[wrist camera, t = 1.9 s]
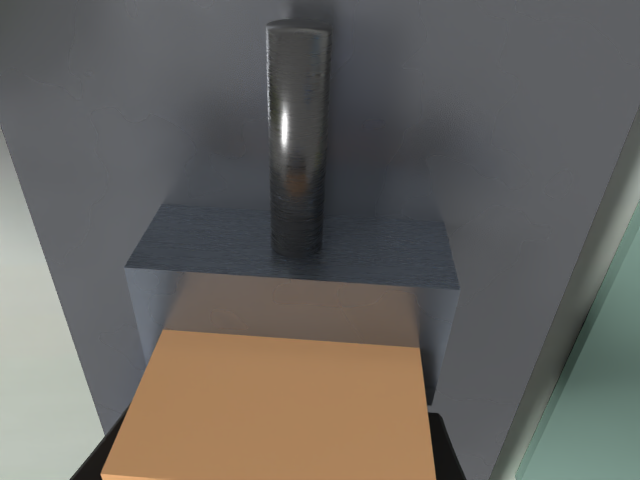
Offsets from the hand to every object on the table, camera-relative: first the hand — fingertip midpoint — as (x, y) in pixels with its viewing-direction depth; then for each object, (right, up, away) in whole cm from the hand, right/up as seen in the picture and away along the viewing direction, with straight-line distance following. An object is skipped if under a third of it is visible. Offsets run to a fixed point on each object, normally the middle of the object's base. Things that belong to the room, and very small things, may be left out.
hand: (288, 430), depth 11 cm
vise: (0, +2, +3) cm, 4 cm away
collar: (0, 0, 0) cm, 0 cm away
